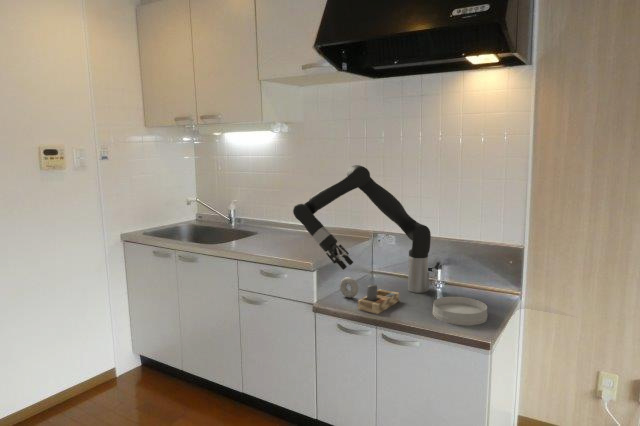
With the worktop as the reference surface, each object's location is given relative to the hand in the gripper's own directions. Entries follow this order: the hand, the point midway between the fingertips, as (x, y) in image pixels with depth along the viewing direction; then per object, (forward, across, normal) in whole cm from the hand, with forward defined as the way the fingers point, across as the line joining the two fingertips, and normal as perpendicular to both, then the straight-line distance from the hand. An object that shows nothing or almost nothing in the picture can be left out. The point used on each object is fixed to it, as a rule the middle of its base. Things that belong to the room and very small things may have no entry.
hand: (348, 266), depth 208 cm
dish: (+47, +5, -21) cm, 51 cm away
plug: (+20, 0, +5) cm, 21 cm away
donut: (+11, +9, +15) cm, 20 cm away
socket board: (+22, +4, +3) cm, 22 cm away
